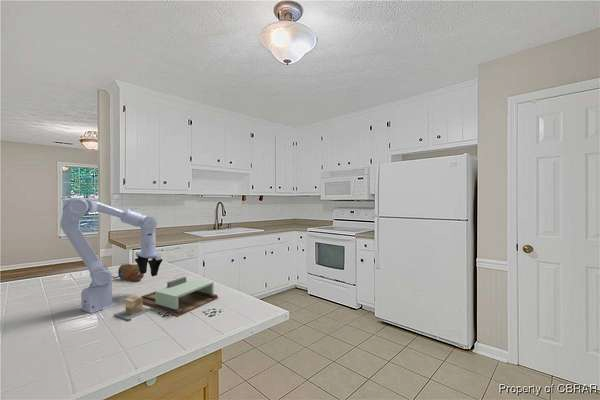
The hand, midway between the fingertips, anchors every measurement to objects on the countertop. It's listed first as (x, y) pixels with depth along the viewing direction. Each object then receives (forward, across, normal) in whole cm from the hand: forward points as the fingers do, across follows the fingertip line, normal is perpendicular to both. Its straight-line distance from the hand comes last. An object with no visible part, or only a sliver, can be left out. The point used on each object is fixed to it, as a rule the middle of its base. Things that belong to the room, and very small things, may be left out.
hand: (148, 274), depth 121 cm
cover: (+7, -21, -2) cm, 22 cm away
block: (+9, -12, +14) cm, 20 cm away
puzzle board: (+9, -14, -2) cm, 17 cm away
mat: (+9, -12, +14) cm, 21 cm away
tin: (+10, +30, -10) cm, 33 cm away
